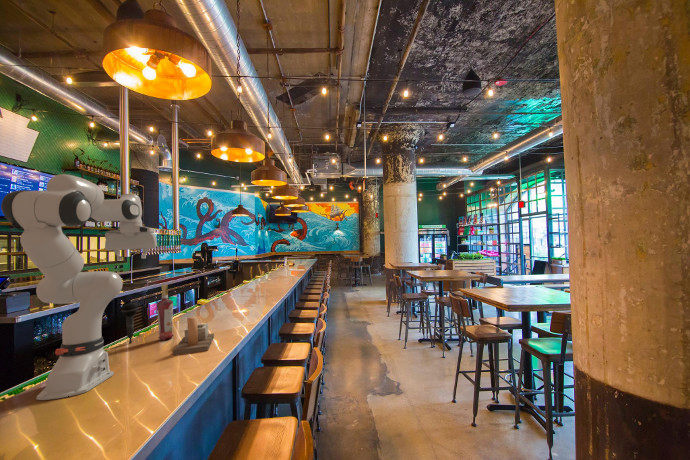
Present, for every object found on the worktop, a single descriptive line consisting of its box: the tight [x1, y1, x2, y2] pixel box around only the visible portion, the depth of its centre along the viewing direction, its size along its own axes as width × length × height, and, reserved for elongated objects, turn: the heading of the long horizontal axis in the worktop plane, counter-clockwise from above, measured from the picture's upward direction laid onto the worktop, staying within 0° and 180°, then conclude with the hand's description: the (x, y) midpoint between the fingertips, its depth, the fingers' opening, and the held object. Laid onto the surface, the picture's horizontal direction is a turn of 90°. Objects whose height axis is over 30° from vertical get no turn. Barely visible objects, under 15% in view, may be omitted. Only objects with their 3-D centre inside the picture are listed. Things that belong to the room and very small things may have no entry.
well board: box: [172, 323, 215, 356], centre depth 150 cm, size 22×14×8 cm, turn 16°
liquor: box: [156, 283, 174, 341], centre depth 164 cm, size 7×7×28 cm
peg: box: [186, 316, 198, 346], centre depth 145 cm, size 4×4×12 cm
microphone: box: [120, 302, 139, 344], centre depth 159 cm, size 7×7×20 cm
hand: (132, 259), depth 147 cm, fingers open, 8 cm apart
